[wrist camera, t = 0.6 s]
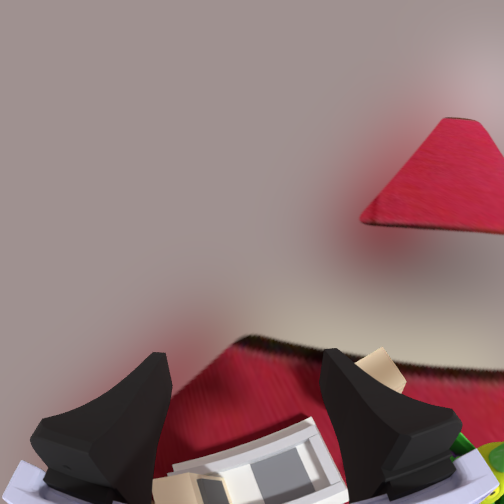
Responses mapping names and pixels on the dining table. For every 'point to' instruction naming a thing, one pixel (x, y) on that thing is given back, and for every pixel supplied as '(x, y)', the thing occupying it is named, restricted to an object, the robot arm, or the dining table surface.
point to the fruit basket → (495, 455)
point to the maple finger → (383, 369)
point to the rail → (259, 473)
